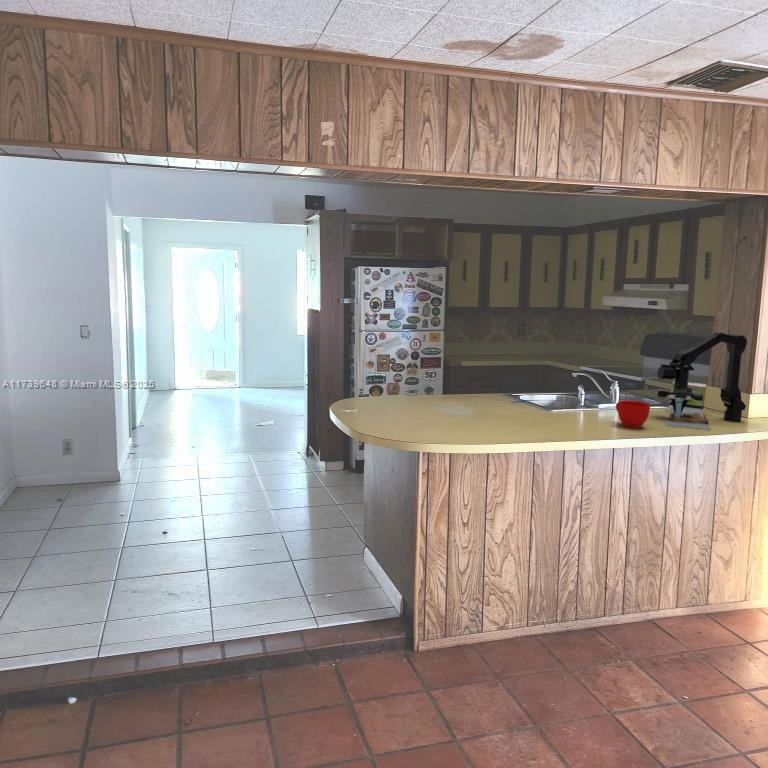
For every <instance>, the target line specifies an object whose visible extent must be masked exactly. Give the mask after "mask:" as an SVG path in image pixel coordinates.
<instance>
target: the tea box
mask: <svg viewBox="0 0 768 768" xmlns="http://www.w3.org/2000/svg"><path fill="white" fill-rule="evenodd" d="M707 386H708V384H707V383H700V382H699V383H697V382H690V381H688V388H692V393H693V392H695V393H701V394H702V395H703V401H698V400H694V399H693V398H691V399H690V400H691V401H690V402H687V404H686V405H685V407H684V409H683V411H682V413H681V414H688V415H694V413H701V414H703V413H704V407H705V402H706V393H707ZM673 389H674V380H673V382H671V388H670V392H673ZM675 399H676V400H681V402H682V400H683V398H676V397H675ZM668 412H669V413H674V409H673V405H672V402H671V400H669V403H668Z"/></svg>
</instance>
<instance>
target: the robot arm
mask: <svg viewBox="0 0 768 768" xmlns="http://www.w3.org/2000/svg"><path fill="white" fill-rule="evenodd" d="M720 343H725V344H726V349H727V352H728V365H727V375H726V376H727V377H726V385H725V387H724V388H722V387H721V389H720V394H719V395H720V396H719V398H720V400H721V401H722V403H723V406H724V407H725V409H724V411H723V418H722V419H723V420H724V421H726V422H733V423H736V422H737V423H742V414H743V411H745V409H746V407H747V405H746V404H745V403H744V401H743V400H742V392H741V390H740V387H739V385H740V384H739V383H740V372H741V361H742V355H743V353H744V352H745V351H746V348H747V347H746V346H747V343H748V339H747V337H745V336H744V335H740V334H734V333H732V334H726V333H724V332H719V331H716V332H714V333H713V334H712V335H710V336H709V337H707V338H705V339H703V340H702V341H700V342H699V343H696V344H695V345H694V346H692V347H690V348H689V347H688V348H686V349H683V350H680V351H678V352H676V354H675V356H674V358H672V360H671V361H670V362H669V364H665V363H661V364H660V367H659V368H658V369H657V374H656V375H657V377H658V379H659V380H673V381H674V389H673V392H671V391H668V389H658V390H657V391H656V395H657V396H656V397H659V398H666V397H667V399H668V400H669V401H670V400H671V402H672V405H673V409H674V412H673V413H675V412H676V399H675V397H676V398H683V400H682V406H681V414H683V413H682V411H683V409H684V407H685V405H686V404H687V402H690V401H691V400H690V399H691V398H693V399H694V400H698V401H703V395H702V394H701V393H695V392H693V393H692V388H688V382H689V378H690V371H695V368H694V367H693V365H692V364H693V363H694V362H695V361H696V360H697V359H698V357H699V356H700V355H703V353H705V352H707V351H708V350H710V349H712V348H713V347H715V346H717V345H718V344H720Z"/></svg>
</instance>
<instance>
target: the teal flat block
mask: <svg viewBox="0 0 768 768" xmlns="http://www.w3.org/2000/svg"><path fill="white" fill-rule="evenodd" d="M681 406H682V402H681V400H676V412H675V414H674V417H675V418H680V415H681V414H682V413H681Z"/></svg>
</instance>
